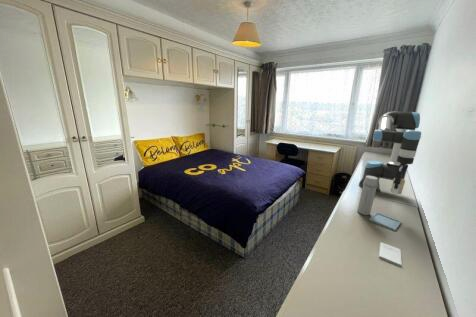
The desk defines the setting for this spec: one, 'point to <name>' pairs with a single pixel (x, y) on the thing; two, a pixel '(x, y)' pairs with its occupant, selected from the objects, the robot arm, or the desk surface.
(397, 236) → the desk surface
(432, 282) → the desk surface
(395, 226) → the tray
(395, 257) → the external hard drive
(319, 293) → the desk surface
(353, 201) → the desk surface
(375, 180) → the water bottle
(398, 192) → the candle
